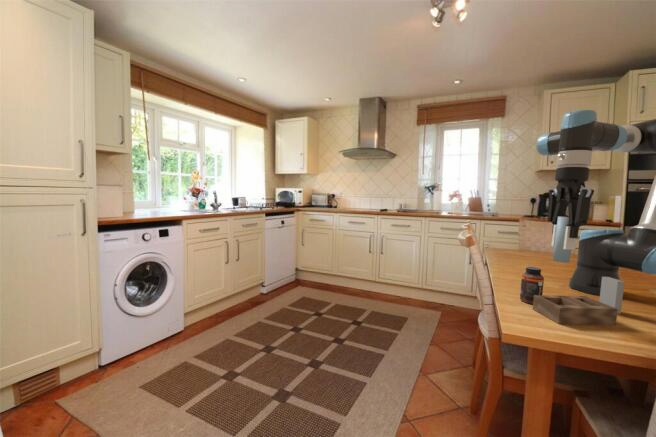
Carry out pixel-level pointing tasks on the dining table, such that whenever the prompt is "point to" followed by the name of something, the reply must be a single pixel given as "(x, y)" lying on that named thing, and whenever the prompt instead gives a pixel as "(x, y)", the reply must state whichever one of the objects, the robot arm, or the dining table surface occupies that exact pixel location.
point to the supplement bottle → (531, 284)
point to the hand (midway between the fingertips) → (562, 247)
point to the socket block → (574, 310)
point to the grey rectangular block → (612, 292)
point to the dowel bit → (561, 242)
